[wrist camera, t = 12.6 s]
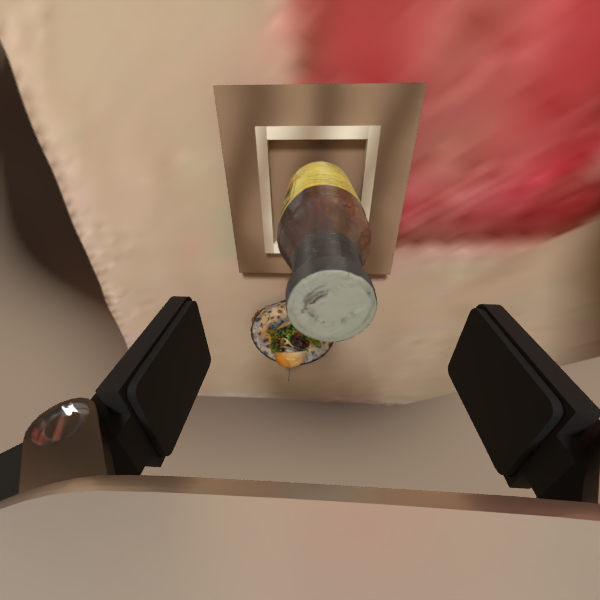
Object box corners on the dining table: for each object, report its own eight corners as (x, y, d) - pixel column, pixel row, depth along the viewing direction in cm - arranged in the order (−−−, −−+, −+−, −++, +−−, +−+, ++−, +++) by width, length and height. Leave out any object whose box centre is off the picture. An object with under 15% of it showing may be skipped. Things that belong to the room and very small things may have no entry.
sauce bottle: (281, 167, 27) (230, 244, 11) (345, 151, 26) (400, 208, 10) (297, 231, 31) (277, 365, 14) (354, 219, 30) (405, 347, 13)
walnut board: (420, 84, 25) (430, 81, 22) (387, 268, 34) (392, 278, 32) (218, 87, 25) (209, 84, 23) (242, 266, 35) (237, 276, 33)
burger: (349, 311, 38) (356, 349, 32) (313, 366, 45) (314, 406, 38) (267, 280, 36) (257, 314, 30) (241, 342, 42) (229, 381, 36)
